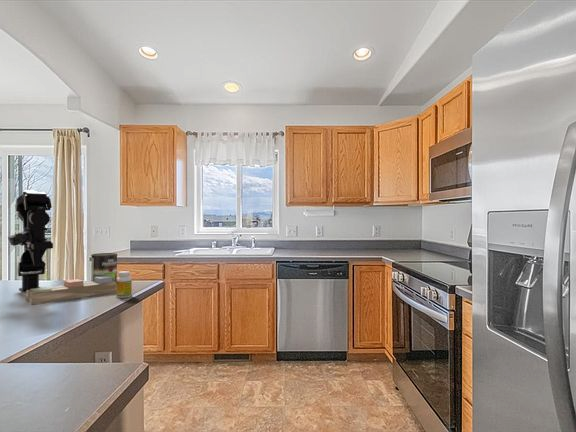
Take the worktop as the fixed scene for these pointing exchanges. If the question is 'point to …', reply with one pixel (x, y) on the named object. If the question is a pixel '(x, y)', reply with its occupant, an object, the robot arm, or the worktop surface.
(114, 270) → the coffee can
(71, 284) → the terracotta key
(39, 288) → the sage key
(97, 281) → the slate key
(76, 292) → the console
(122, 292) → the supplement bottle
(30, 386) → the worktop surface
